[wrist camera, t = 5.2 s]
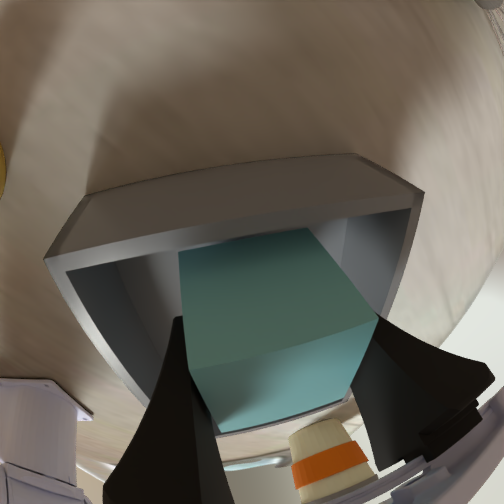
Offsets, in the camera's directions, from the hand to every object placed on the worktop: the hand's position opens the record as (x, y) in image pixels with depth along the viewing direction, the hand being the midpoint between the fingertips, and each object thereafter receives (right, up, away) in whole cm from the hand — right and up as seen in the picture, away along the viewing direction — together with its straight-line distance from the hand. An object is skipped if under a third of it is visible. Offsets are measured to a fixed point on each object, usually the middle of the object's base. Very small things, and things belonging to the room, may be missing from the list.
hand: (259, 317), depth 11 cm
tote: (-1, -1, +6) cm, 6 cm away
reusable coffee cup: (+10, -27, +27) cm, 39 cm away
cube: (0, +1, +1) cm, 2 cm away
